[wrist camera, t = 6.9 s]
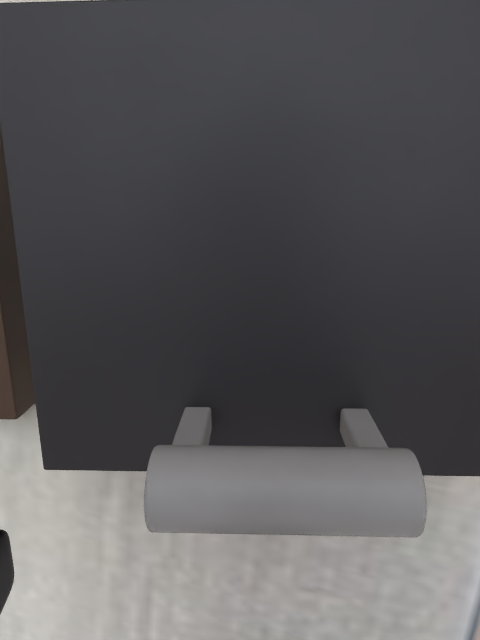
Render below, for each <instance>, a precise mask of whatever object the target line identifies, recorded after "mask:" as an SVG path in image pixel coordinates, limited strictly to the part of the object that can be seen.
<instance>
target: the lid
mask: <svg viewBox="0 0 480 640" xmlns="http://www.w3.org/2000/svg"><path fill="white" fill-rule="evenodd" d="M0 123H1V131H2V139H3V147H4V155H5V163H6V171H7V179H8V187H9V195H10V203H11V211H12V219H13V227H14V235H15V243H16V251H17V259H18V267H19V275H20V283H21V291H22V299H23V307H24V315H25V322H26V330H27V338H28V346H29V354H30V362H31V370H32V378H33V386H34V394H35V402H36V410H37V418H38V426H39V434H40V442H41V450H42V458H43V466H44V469H45V470H99V471H147V473H146V480H145V491H144V513H145V521H146V525H147V528H148V530H149V531H151V532H170V533H219V534H269V535H318V536H368V537H418V536H420V535H421V534H422V532H423V530H424V526H425V521H426V492H425V485H424V480H423V475H434V476H480V0H99V1H59V2H20V3H0Z"/></svg>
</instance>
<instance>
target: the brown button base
mask: <svg viewBox="0 0 480 640" xmlns="http://www.w3.org/2000/svg"><path fill="white" fill-rule="evenodd" d="M35 403H36V402H35V394H34V386H33V378H32V370H31V362H30V354H29V346H28V338H27V330H26V322H25V315H24V307H23V299H22V291H21V283H20V275H19V267H18V259H17V251H16V243H15V235H14V227H13V219H12V211H11V203H10V195H9V187H8V179H7V171H6V163H5V155H4V147H3V139H2V131H1V123H0V419H18V418H19V417H20V416H21V415H22V414H23V413H24V412H26V411H27V410H28V409H29V408H30V407H31V406H32V405H34V404H35Z"/></svg>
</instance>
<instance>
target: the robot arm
mask: <svg viewBox="0 0 480 640" xmlns="http://www.w3.org/2000/svg"><path fill="white" fill-rule="evenodd" d="M13 581H14V567H13V560H12V553H11V546H10V540H9V536H8V534H7V532H6V531H4V530H0V614H1V612H2V609H3V607H4V605H5V603H6V600H7V598H8V596H9V593H10V591H11V588H12V585H13Z"/></svg>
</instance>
